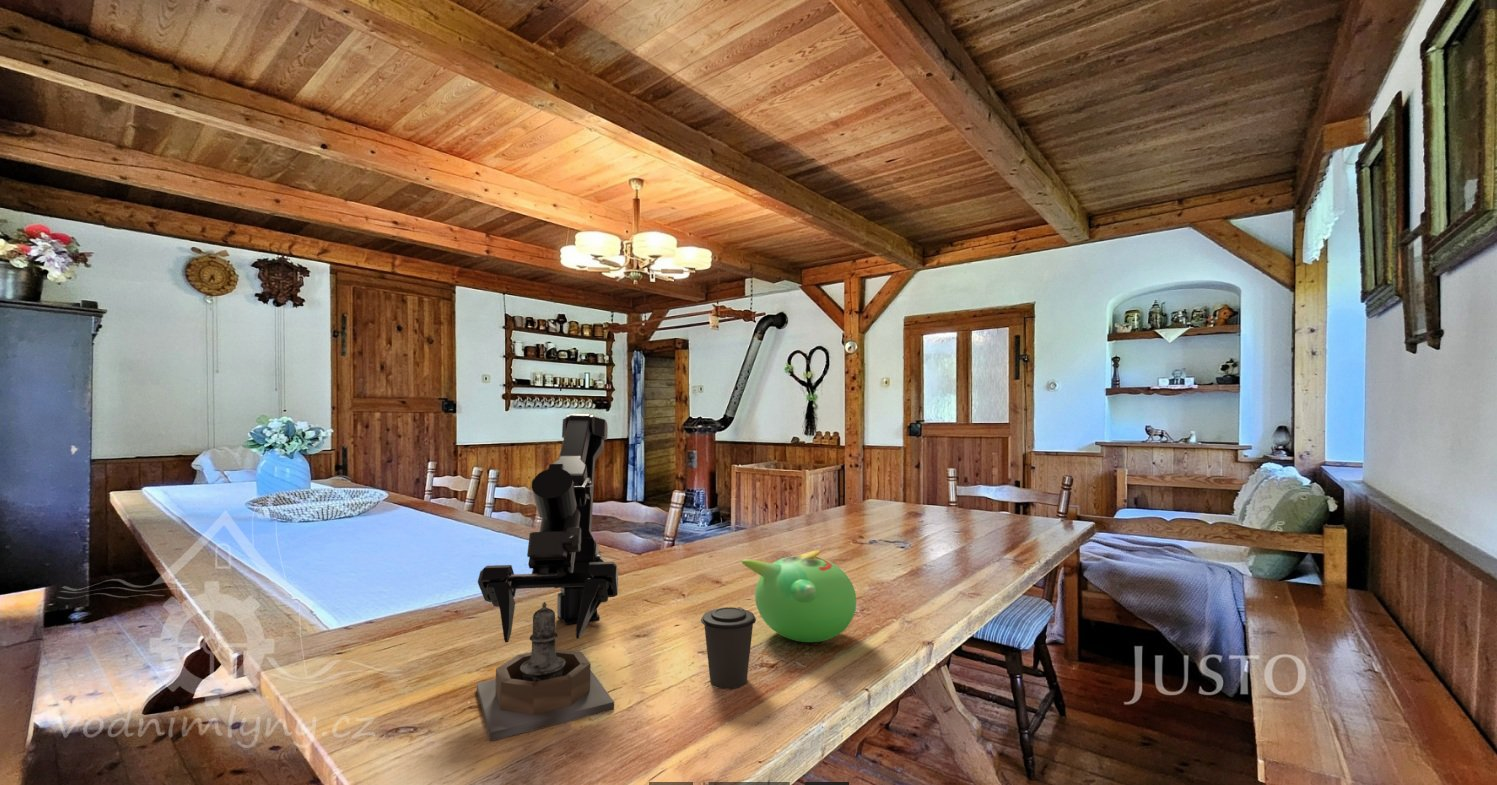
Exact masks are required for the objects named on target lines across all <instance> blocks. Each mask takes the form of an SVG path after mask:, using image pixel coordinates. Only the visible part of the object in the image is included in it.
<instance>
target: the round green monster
mask: <svg viewBox="0 0 1497 785" xmlns="http://www.w3.org/2000/svg"><path fill="white" fill-rule="evenodd" d="M821 552H822V551H821V550H818V549H817V550H812V551H811V550H810V551H808V552H805V553H801V554H798V555H791V556H786V557H782V558H780V559H777V560H776V561H774V562H772V563H771V562H766V561H761V560H756V559H749V558H747V559H746V558H745V559H742V560H741V564H742V565H743V566H745V567H747V568H748V569H750V570H751V571H753V572H754V573H756V574H757V575H759V578H758V580H757V582H756V586H755V592H754V597H755V598H754V599H755V600H754V601H755V605H756V608H757V611H758V614H759V615H760V616H761V619H762V620H763V621H764V623H765V624H766V625H767V626H768V627H769V628H771V629H772V630H773V631H774V632H775V633H777V634H779V635H781V637H784V638H787V639H789V640H792V641H796V642H801V643H819V642H825V641H828V640H831V639H834V638H835V637H837V636H839V635H840V634H842V633H843V632H844V631H845V630H846V629H847V628H848V627H849V625H850V624H851V622H852V621H853V618H854V616H855V613H856V609H857V594H856V590H855V587H854V585H853V583H852V580H851V579H850V578H849V576H848V575H847V574H846V573H845V572H844V570H842V569H841V568H840V567H839V566H837V565H836V564H835V563H833V562H831V561H829V560H827V559H825V558H821V557H818V555H819V554H821Z"/></svg>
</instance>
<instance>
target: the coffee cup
mask: <svg viewBox="0 0 1497 785" xmlns="http://www.w3.org/2000/svg"><path fill="white" fill-rule="evenodd" d="M700 622H701V623H702V624H703V625H704V626H703V627H704V635H705V644H706V652H707V653H706V654H707V663H708V672H709V681H710V682H709V683H710V684H711V685H712V686H713V687H715V688H717V689H721V690H735V689H739V688H742V687H744V685H746V684H747V682H748V673H749V665H750V654H751V645H752V635H753V628H754V626H753V625H754V624H755V623H756V622H757V618H756V616H755V614H754V613H753V612H752V611H750V610H748V609H747V610H746V609H744V608H743V607H733V606H731V607H730V606H729V607H719V608H713V609H711V610H708V611H706V612H704V613H703V615H702V617H701V619H700Z"/></svg>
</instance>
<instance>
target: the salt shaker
mask: <svg viewBox="0 0 1497 785" xmlns="http://www.w3.org/2000/svg"><path fill="white" fill-rule="evenodd" d="M547 606H548V604H547V603H546V602H545V601H544V602H543V603H542V605H541V608H540V609H538V610H536V611H535V612H534V613H533V616H532V635H530V636H529V640H530V641H531V652H532V653H531V658H530V660H528V661H526V662H524V663H523V664H522V665H521V667H520V670H521V672H522V673H523V678H524V680H525V681H533V682H538V681H542V680H547V679H552V678H556V677H561V675H562V672H563V667H564V666H565V664H566V661H565V660H564V659H563V658H561V657H557V656H556V652H555V649H556V639H557V638H558V636H559V634H558V633H557V632H556V612H555V611H554V610H553V609H551V608H548V607H547Z"/></svg>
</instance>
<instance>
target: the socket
mask: <svg viewBox="0 0 1497 785" xmlns="http://www.w3.org/2000/svg"><path fill="white" fill-rule="evenodd" d="M555 652H556V656H557V657H561V658H563V659H564V660H565V661H566V664H565V666H564V667H563V672H562V675H561V677H556V678H552V679H547V680H542V681H538V682H533V681H525V680H524V678H523V673H522V672H521V670H520V667H521V665H522V664H523V663H524V662H526V661H528V660H530V658H531V653H532V651H531V652H526V653H525V652H524V653H521V654H517V655H516V656H514V657H512V658H511V659H509V660H507V661H505V662H504V663H503V664H501V665H499V666H497V667H496V668H495V679H490V680H484V681H480V682H477V683H476V692H477V695H478V700H479V703H480V704H479V705H480V708H481V711H482V716H483V719H484V723H485V727H486V729H487V730H486V731H487V733H488V738H489V741H490V742H493V741H497V740H501V739H505V738H508V737H513V736H516V735H521V734H524V733H527V732H529V733H530V732H532V731H537V730H540V729H543V728H548V727H551V726H555V725H560V724H564V723H568V722H572V721H575V720H579V719H583V718H587V717H590V716H595V715H598V714H599V715H600V714H603V713H607V712H610V711H615V700H614V699H613V698H612V697H611V695H610V694H609V693H608V691H607V690H606V689H605V687H604V686H603V684H602V683H601V682H600V680H599V679H598V677H596V674H595V673H594V672H593V670H591V662H590V661H589V659H588V658H587V657H586V656H585V654H584V653H583V652H582V651H581V650H579V651H578V650H571V649H570V650H569V649H563V648H555Z"/></svg>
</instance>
